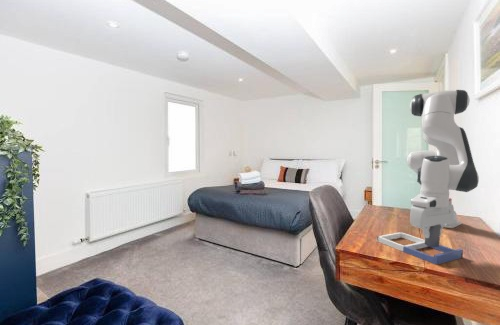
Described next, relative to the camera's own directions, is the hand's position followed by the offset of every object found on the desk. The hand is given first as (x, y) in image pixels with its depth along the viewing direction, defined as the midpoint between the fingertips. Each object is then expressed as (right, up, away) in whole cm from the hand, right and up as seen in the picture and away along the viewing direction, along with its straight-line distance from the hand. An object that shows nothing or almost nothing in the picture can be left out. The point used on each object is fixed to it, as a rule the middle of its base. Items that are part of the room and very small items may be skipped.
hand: (432, 236), depth 95 cm
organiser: (-2, -7, +6) cm, 9 cm away
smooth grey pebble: (0, -3, 0) cm, 3 cm away
